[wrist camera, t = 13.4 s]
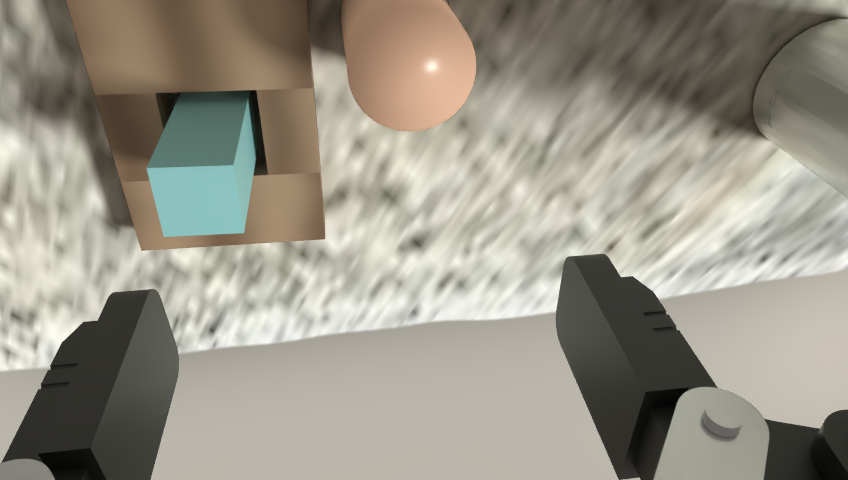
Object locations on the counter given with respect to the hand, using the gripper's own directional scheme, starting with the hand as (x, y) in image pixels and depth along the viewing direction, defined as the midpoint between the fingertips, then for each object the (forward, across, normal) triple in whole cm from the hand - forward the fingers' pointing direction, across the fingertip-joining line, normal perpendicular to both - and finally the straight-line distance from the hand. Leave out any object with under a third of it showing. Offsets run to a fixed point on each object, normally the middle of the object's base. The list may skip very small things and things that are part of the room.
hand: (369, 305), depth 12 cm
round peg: (+28, -3, +2) cm, 28 cm away
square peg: (+28, +8, +8) cm, 30 cm away
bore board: (+28, +8, +8) cm, 30 cm away
